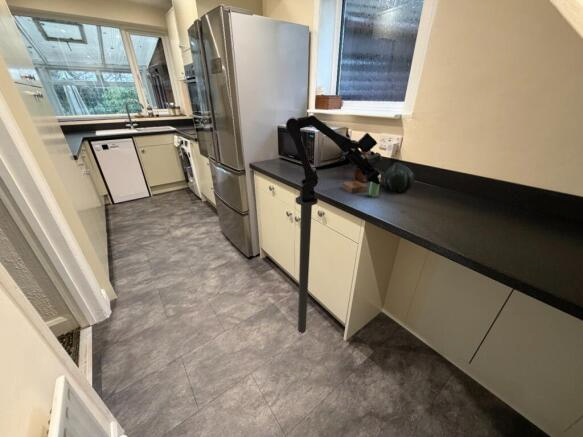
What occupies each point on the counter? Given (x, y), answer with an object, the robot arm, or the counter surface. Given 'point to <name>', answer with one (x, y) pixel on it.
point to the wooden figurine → (357, 173)
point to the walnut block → (354, 187)
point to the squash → (398, 178)
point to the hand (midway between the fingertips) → (378, 182)
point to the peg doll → (374, 188)
